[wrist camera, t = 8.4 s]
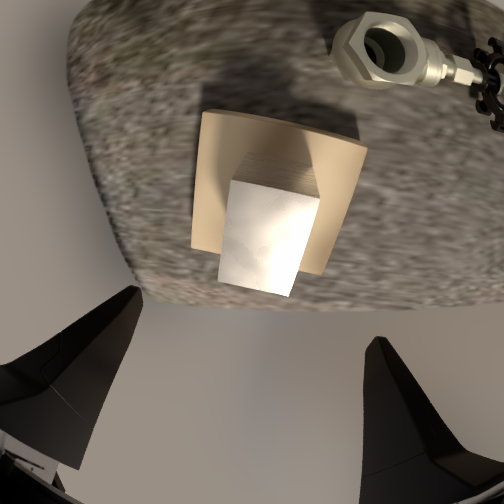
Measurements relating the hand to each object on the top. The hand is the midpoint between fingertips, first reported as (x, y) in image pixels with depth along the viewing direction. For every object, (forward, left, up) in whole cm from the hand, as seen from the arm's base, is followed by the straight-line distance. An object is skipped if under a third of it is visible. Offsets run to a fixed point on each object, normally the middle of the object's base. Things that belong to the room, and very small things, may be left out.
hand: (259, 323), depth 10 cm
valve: (-7, -12, -12) cm, 18 cm away
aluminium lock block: (0, 0, -10) cm, 10 cm away
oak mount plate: (0, 0, -12) cm, 12 cm away
